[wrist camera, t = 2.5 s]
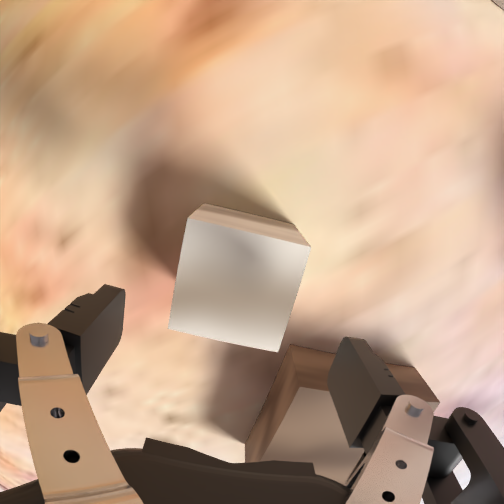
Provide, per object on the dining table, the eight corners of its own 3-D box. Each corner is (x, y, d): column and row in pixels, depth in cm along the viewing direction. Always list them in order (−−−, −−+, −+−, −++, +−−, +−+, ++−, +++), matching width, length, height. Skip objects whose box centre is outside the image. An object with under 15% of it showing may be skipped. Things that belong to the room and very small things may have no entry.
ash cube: (203, 202, 19) (187, 217, 14) (293, 224, 19) (311, 247, 14) (186, 287, 20) (167, 328, 15) (270, 306, 21) (277, 352, 16)
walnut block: (289, 342, 22) (299, 386, 17) (413, 365, 23) (440, 402, 18) (245, 441, 25) (245, 486, 20) (355, 453, 26) (367, 491, 21)
